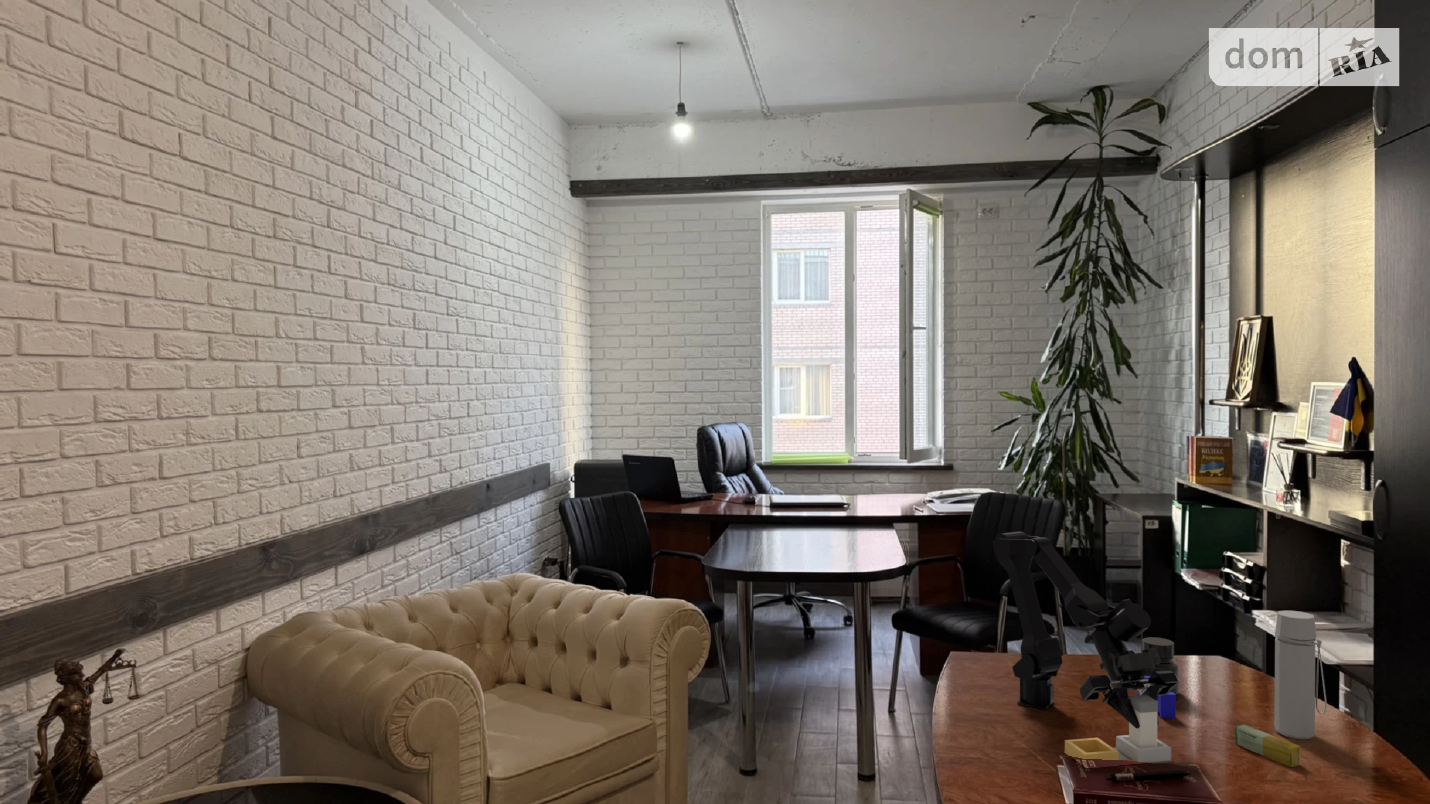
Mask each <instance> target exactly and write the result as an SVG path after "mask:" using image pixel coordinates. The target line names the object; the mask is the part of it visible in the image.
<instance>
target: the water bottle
mask: <svg viewBox="0 0 1430 804" xmlns="http://www.w3.org/2000/svg"><path fill="white" fill-rule="evenodd" d="M1276 616H1277V617H1276V624H1275V625H1276V626H1275V631H1274V636H1275V639H1274V644H1275V645H1274V729H1275V731H1276V732H1277V733H1279V734H1280V735H1282V736H1285V737H1287V738H1289V737H1290V739H1295V740H1309V739H1313V738H1314V736H1315V733H1316V716H1315V715H1316V711H1317V713H1319V715H1325V713H1326V710H1327V694H1326V686H1325V678H1324V671H1323V663H1322V655H1321V646H1322V643H1323V642H1322V640H1321V639H1317V628H1316V621H1315V619H1316V618H1315V615H1313V614H1311V613H1307V612H1304V611H1297V610H1279V611H1278V612H1277V613H1276ZM1316 648H1317V659H1316ZM1316 660H1317V663H1316ZM1319 663H1320V664H1319ZM1319 665H1320V670H1321V677H1322V678H1321V680H1322V687H1323V695H1324V697H1323V698H1324V707H1323V711H1320V710H1319V709H1318V698H1319V695H1318V694H1319V693H1318V691H1319Z"/></svg>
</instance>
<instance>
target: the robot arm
mask: <svg viewBox="0 0 1430 804" xmlns="http://www.w3.org/2000/svg"><path fill="white" fill-rule="evenodd" d="M992 548H993V552H994V553H995V556H996V559H997V561H998V563H999V564H1000V565H1001V566H1002V568H1004V570H1005V571H1006V572H1007V574H1008V578H1009V582H1010V586H1011V589H1012V594H1013V598H1014V600H1015V606H1016V609H1017V613H1018V618H1019V621H1020V624H1021V630H1022V633H1023V637H1022V641H1021V644H1020V655H1021V657H1020V659H1019V660H1018V661H1017V662H1016V663H1014V665H1013V666H1012V670H1013V675H1014V677H1015V678H1018V679H1019V699H1018V700H1017V701H1016V702H1017V704H1018V705H1020V706H1021V705H1022V706H1025V707H1030V708H1031V707H1032V708H1037V709H1040V710H1047V709H1048V708H1049V707H1050V706H1051V705H1052V704H1053V703H1054V702H1055V693H1054V692H1055V686H1054V684H1053V683H1052V677H1053V678H1054V677H1057V676H1058V673H1059V670H1060V668H1061V666H1062V665H1063V656H1064V653H1063V652H1062V649H1061V645H1060V640H1059V638H1058V637H1052V636H1051V634H1050V633H1049V632H1048V631H1047V629H1046V626H1045V622H1044V617H1043V614H1042V611H1041V606H1040V602H1039V599H1038V595H1037V591H1036V588H1035V584H1034V580H1033V577H1032V572H1031V569H1030V568H1031V565H1032V560H1033V559H1034V560H1035V562H1036V563H1037V564H1038V566H1039V567H1040V568H1041V570H1042V571H1043V572H1044V574H1045V575H1046V576H1047V577H1048V579H1049V580H1050V582H1052V584H1053V585H1054V587H1055V588H1056V589H1057V590H1058V593H1060V594H1061V596H1062V597H1063V601H1064V608H1065V610H1066V613H1068V615H1069V617H1070V619H1071V621H1072V622H1073V624H1074V625H1075V626H1076V627H1078V628H1090V627H1095V626H1096V627H1095V628H1094V629H1093V630H1087V634H1086V635H1085V639H1084V644H1086V645H1088V644H1090V645H1094V647H1095V649H1096V652H1097V654H1098V656H1099V658H1100V660H1101V663H1100V664H1099V668H1100V670H1101V671H1102V670H1103V671H1104V670H1105V671H1106V675H1105V674H1103V675H1089V676H1088V678H1086V679H1085V680H1084V682H1083V683H1082V684H1081V685H1080V687H1079V693H1080V696H1081V698H1082V701H1084V702H1089V701H1091V702H1092V701H1097V700H1098V698H1099V696H1100V693H1102V694H1103V696H1104V698H1103V699H1102V700H1101V702H1102V703H1103V704H1106V705H1108V706H1110V707H1111V708H1112V709H1113V710H1115V711H1116V712H1117V713H1118V714H1119V715H1120V716H1122V717H1123V718H1124V719H1125V720H1126V721H1127V722H1128V723H1129V722H1130V723H1131V724H1132V725H1133V726H1134V727H1135V728H1139V727H1140V724H1139V721H1138V718H1137V716H1136V714H1135V712H1134V710H1133V708H1132V705H1131V703H1130V701H1129V693H1128V692H1129V691H1137V690H1138V691H1139V694H1140V695H1147V696H1149V697H1151V698H1153V699H1154V700H1156V701H1157V696H1162V695H1166V694H1168V693H1169V692H1170V691H1171V690H1172V689H1173V688H1174V687H1175V686H1176V685H1177V684H1178V683H1179V684H1180V679H1179V680H1178V678H1177V676H1176V674H1175V673H1174V672H1172V671H1157V672H1154V673H1153V674H1152V675H1151V676H1150V677H1149V678H1148V679H1142V678H1141V676H1144V675H1145V674H1146V673H1147V672H1146V670H1147V669H1155V667H1154V665H1157V664H1160V657H1159V654H1158V653H1157V651H1156V649H1155V648H1148V649H1144V650H1143V653H1142V652H1135V651H1133V650H1129V648H1128V647H1127V644H1126V643H1130V642H1132V641H1134V640H1135V639H1136V638H1137V637H1138V636H1140V635H1142V633H1143V632H1145V631H1146V630H1147V629H1149V628H1150V627H1151V624H1152V619H1151V616H1150V615H1149V613H1148V611H1146V610H1145V609H1143V608H1142V607H1141V606H1140V605H1137V604H1135V603H1133V602H1132V600H1131V598H1128V599H1122V600H1121V601H1120V602H1119V603H1118V604H1117V606H1116V607H1115V606H1113V605H1110V604H1109V603H1108V602H1107V601H1106V600H1105V599H1104V598H1103V597H1102V596H1101V595H1100V594H1099V593H1098V592H1097V591H1095V590H1094V589H1091V588H1090V587H1088V586H1086V585H1085V584H1083V582H1082V581H1081V580H1080V579H1079V578H1078V576H1077V575H1076V574H1075V573H1074V571H1073V570H1072V569H1071V567H1070V566H1069V565H1068V564H1067V562H1066V561H1065V560H1064V559H1063V557H1062V556H1061V555H1060V554H1059V552H1058V551H1057V550H1056V548H1055V547H1054V545H1053V542H1052V540H1051V539H1050V538H1048V537H1044V536H1043V537H1040V536H1036V535H1035V536H1034V535H1029V534H1027V533H1025V532H1023V531H1013V532H1005V533H998V534H997V535H996V536H995V538H994V540H993V541H992ZM1159 725H1160V724H1159V715H1158V712H1157V727H1158V726H1159Z"/></svg>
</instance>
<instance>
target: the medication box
mask: <svg viewBox="0 0 1430 804" xmlns="http://www.w3.org/2000/svg"><path fill="white" fill-rule="evenodd" d="M1234 731H1235V733H1234V734H1235V735H1234V736H1235V738H1234V739H1235V745H1237V746H1240V747H1241V746H1242V747H1241V748H1244V749H1247V750H1249V751H1251V752H1253V753H1256V754H1258V753H1259V754H1258V755H1260V754H1261V756H1263V757H1265V756H1267V757H1266V758H1268V757H1269V758H1268V759H1270V758H1271V759H1270V760H1272V761H1275V760H1276V762H1277V761H1278V763H1279V764H1282V763H1283V765H1285V766H1287V767H1290V768H1293V767H1298V766H1300V764H1301V763H1300V759H1301V757H1300V746H1299V745H1297V744H1295V743H1292V742H1289V741H1287V740H1285V739H1282V738H1279V737H1278V736H1274V735H1272V734H1269V733H1267V732H1264V731H1262V730H1259V729H1257V728H1254V727H1252V726H1249V725H1247V724H1243V723H1242V724H1238V725H1236V726H1235V727H1234Z"/></svg>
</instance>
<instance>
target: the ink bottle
mask: <svg viewBox="0 0 1430 804" xmlns="http://www.w3.org/2000/svg"><path fill="white" fill-rule="evenodd" d="M1141 644H1142V645H1141V653H1143V650H1144V649H1148V648H1155V649H1156V651H1157V653H1158V654H1159V657H1160V664H1157V665H1154V667H1155V669H1147V670H1146V672H1147V673H1146V674H1145V675H1144V676H1151V675H1152V674H1153V673H1154V672H1157V671H1172V672H1174V673H1175V674H1176V676H1177V678H1178V680H1179V681H1180V667H1179V665H1178V664H1177V663H1176V662H1175V661H1174V659H1175V642H1174V641H1172V640H1171V639H1167V638H1162V637H1155V636H1154V637H1151V636H1150V637H1145V638H1142V639H1141ZM1144 676H1141V678H1142V679H1144ZM1179 688H1180V682H1179V683H1178V684H1177V685H1176V686H1175V687H1174V688H1173V689H1172V690H1171V691H1170V692H1173V693H1174V694H1175V695H1176V696H1178V694H1179V693H1180V689H1179Z"/></svg>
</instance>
